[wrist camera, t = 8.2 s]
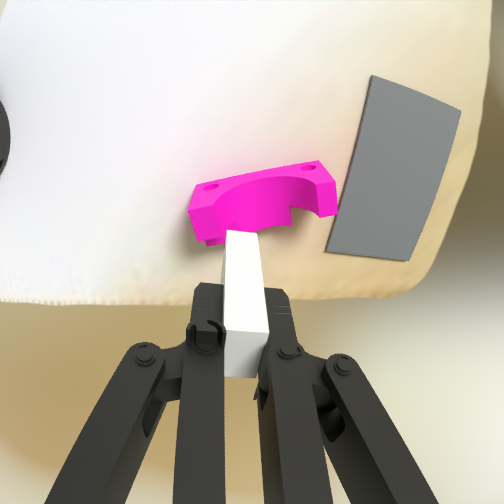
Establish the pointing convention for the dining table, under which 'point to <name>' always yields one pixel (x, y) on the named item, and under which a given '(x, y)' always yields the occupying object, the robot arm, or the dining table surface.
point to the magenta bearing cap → (260, 200)
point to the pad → (393, 172)
